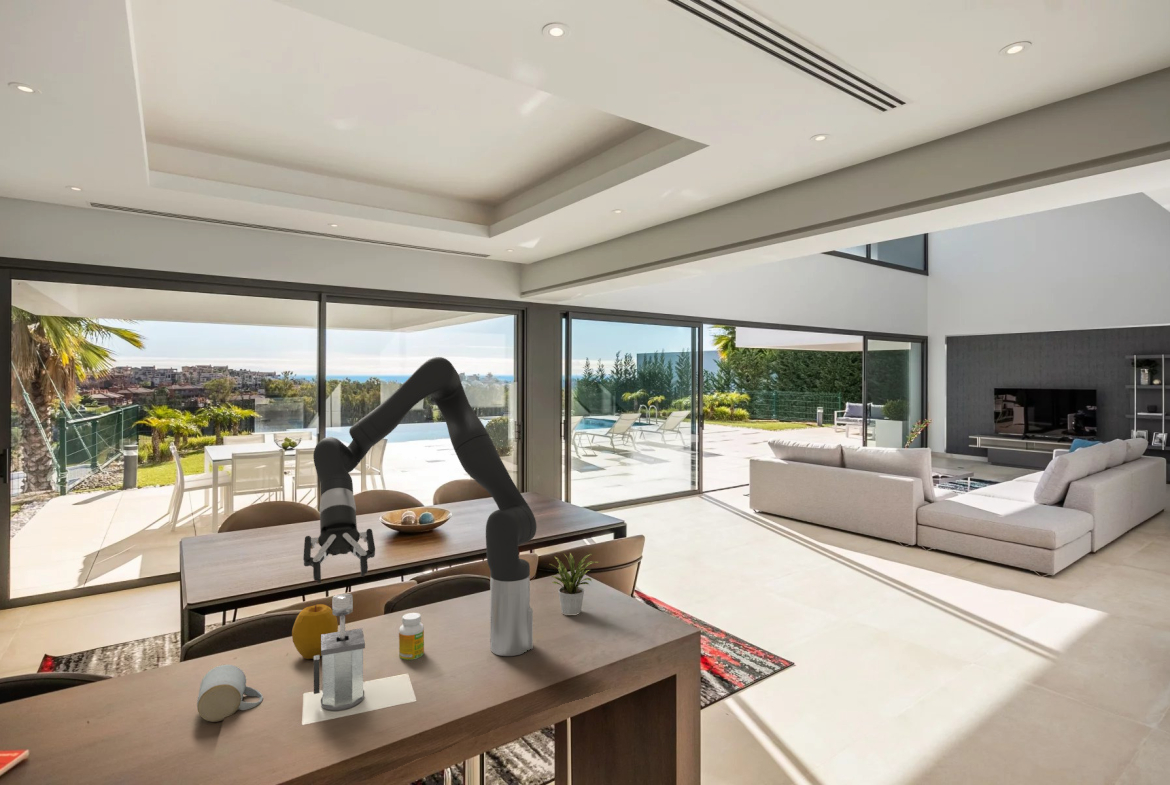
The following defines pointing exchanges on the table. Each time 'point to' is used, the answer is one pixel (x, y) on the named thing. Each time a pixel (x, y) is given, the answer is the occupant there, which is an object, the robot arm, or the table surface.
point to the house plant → (571, 585)
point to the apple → (313, 629)
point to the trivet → (375, 697)
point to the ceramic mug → (224, 693)
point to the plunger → (342, 610)
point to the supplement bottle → (411, 637)
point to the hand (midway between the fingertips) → (341, 577)
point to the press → (340, 670)
